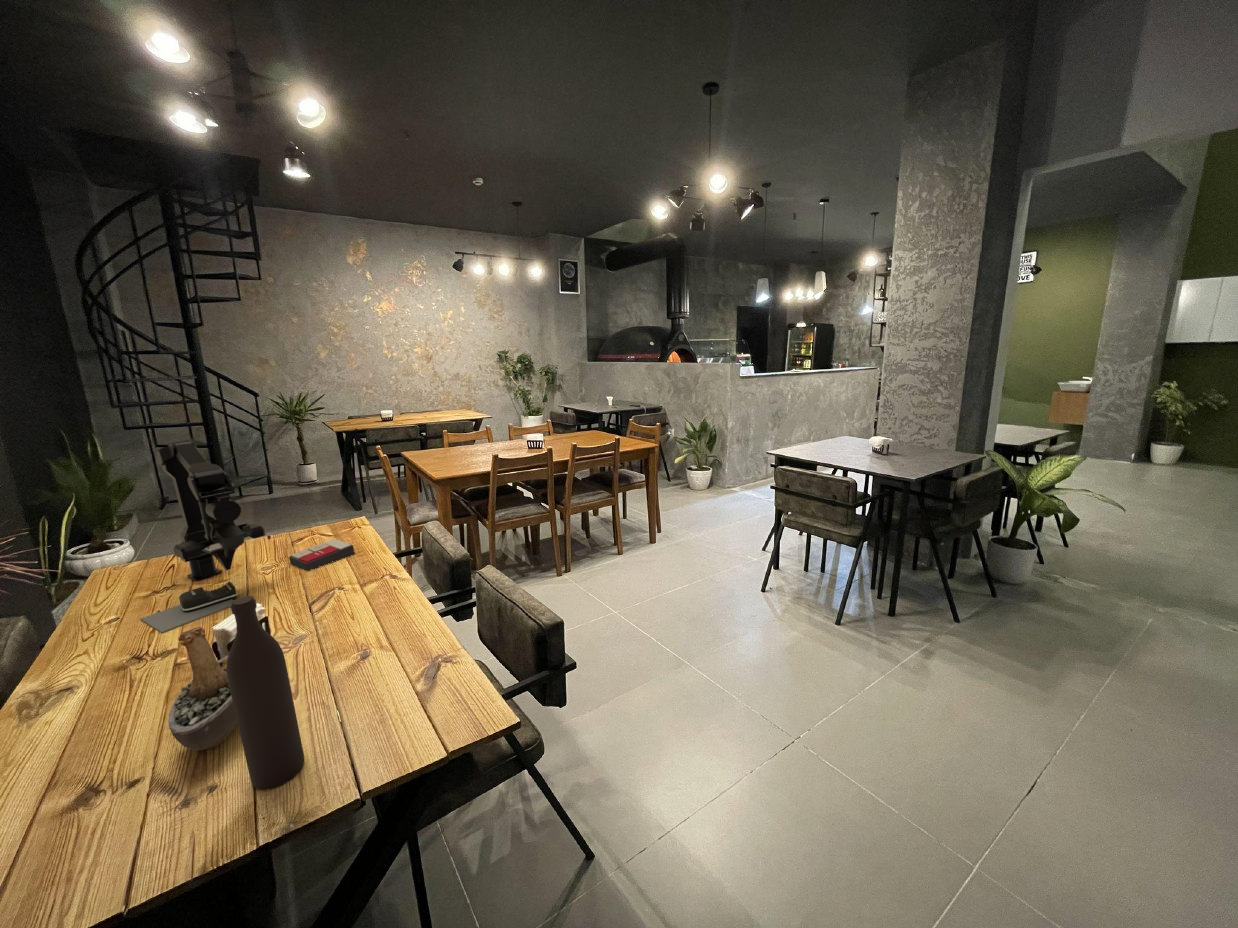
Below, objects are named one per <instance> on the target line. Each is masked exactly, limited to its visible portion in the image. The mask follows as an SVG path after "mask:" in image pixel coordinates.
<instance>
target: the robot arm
mask: <svg viewBox="0 0 1238 928" xmlns="http://www.w3.org/2000/svg"><path fill="white" fill-rule="evenodd" d="M155 457H156V462H157V464H158V465H159V466H161V470H162V471H163V472H164V473H165V474H166V475H168V476H169V477H170V478H172V481H173V485H174V489H175V494H176V497H177V502H178V504H179V509H180V514H181V516H182V520H183V524H184V527H183V530H182V532H181V533H180V536H179V537H180V541H181V542H179V543H178V544H175V545H174V547H173V553H174V556H175V557H178V558H180V560H182V561H183V562H184V563H188V562H189V563H188V564H189V568H190V574H187V578H189V579H191V580H194V581H195V582H198V581H201V580H204V579H207V578H210V577H213V576H216V575H219V574H222V573H223V571H222V570H221V569H218V568H217V566H216V562H215V559H216V560H217V562H218V563H219V564H220V565H221V566H222V567H223V568H224V570H225V571H230V570H231V568H232V565H233V559H234V555H235V552H236V551H237V549H238V548H239V547H240V546H243V544H244V543H245V538H252V539H254V540H255V539H258V538H260V537H264V536H266V531H265V528H264V527H263V526H262V525H258V524H255V523H250V524H249V522H245V523H242V524H238V525H236V523H235V521H236V520H238V518H239V517H240V516H241V512H242V508H241V506H240V504H239V503H238V502H236V501H234V500H232V499H230V497H229V495H233V494H235V493H236V491H235V489H236V486H235V485H234V483H233V480H232V478H231V477H230V475H229V474H228V472H227V471H226V470H224V469H222V467H221V466H219V465H218V464H215V463H209V462H208V461H207V460H206V459H205V457H204V456H203V455H202V453H201V452H200V451H199V450H198V447H197V444H195V441H194V440H190V439H189V440H182V441H172V443H171V442H170V443H169V444H168V445H166V446H164V447H162V448H159V449H158V450H157V452H156V455H155Z"/></svg>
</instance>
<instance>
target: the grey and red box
mask: <svg viewBox="0 0 1238 928" xmlns="http://www.w3.org/2000/svg"><path fill="white" fill-rule="evenodd" d="M351 555H352V556H354V555H356V553H355V549H354V545H353V544H350V543H348V542H344V541H342V540H339V539H336V538H334V539H330V540H327V541H326V542H324V543H323V542H322V543H321V542H320V543H318V544H317V545H312V546H310V547H308V548H307V549H303V550H299V551H297V552H295V553H293V554H292V553H291V554H290V556H289V557H288V559H289V563H290V565H291V564H292V565H291V566H293V567H296V568H299V569H301V570H303V569H304V570H303V571H305V570H306V572H311V571H312V570H311V569H314V570H316V569H319V568H320V567H319V566H322V565H324V564H327V565H329V564H328V563H330V564H332V563H333V562H332V561H335V562H336V560H337V561H340V560H341V558H344V559H346V558H345V557H347V558H350V557H352V556H351ZM339 559H340V560H339ZM331 562H332V563H331ZM318 567H319V568H318ZM322 567H323V566H322ZM315 568H316V569H315ZM310 570H311V571H310Z"/></svg>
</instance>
